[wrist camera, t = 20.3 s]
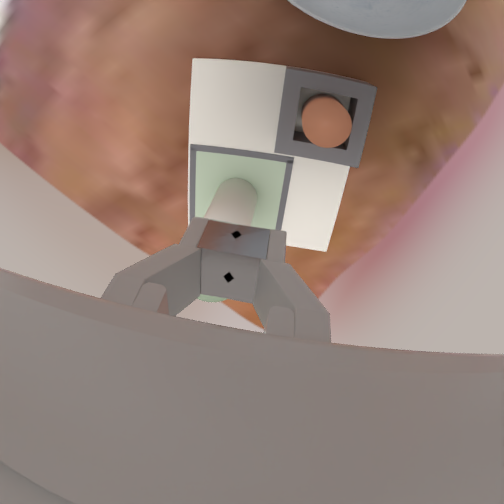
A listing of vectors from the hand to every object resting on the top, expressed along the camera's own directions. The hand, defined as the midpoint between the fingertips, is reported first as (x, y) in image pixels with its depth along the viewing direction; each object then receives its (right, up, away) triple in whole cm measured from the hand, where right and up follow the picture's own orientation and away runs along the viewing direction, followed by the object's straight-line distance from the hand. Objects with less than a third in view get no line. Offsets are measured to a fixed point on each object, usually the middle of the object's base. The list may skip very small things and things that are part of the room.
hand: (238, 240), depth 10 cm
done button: (+6, +11, +13) cm, 18 cm away
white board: (+2, +8, +18) cm, 20 cm away
